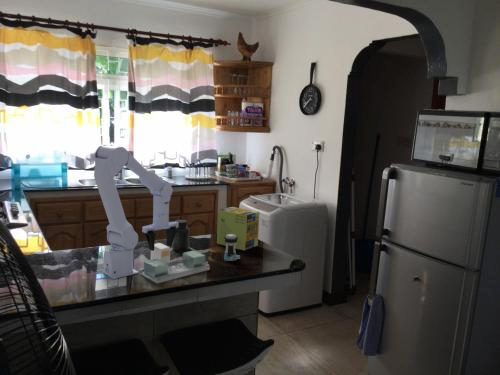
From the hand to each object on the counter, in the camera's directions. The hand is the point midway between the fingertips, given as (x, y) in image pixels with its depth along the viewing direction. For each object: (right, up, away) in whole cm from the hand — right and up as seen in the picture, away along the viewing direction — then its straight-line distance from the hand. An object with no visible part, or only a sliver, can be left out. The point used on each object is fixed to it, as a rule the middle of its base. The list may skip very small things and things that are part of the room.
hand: (160, 248), depth 158 cm
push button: (+27, -6, +6) cm, 28 cm away
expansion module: (0, -5, +1) cm, 5 cm away
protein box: (+28, -3, +27) cm, 39 cm away
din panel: (+7, -7, -10) cm, 14 cm away
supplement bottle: (+5, -3, +17) cm, 18 cm away
